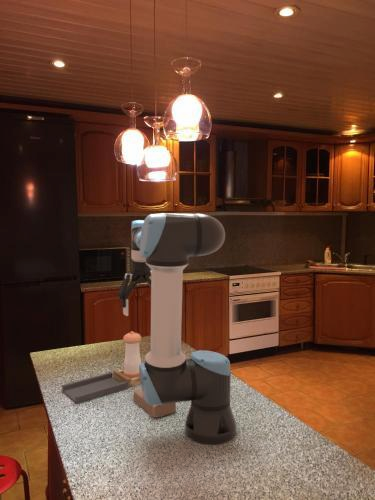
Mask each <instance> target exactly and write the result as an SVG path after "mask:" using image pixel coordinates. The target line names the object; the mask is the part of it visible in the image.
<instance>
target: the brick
mask: <svg viewBox="0 0 375 500" xmlns="http://www.w3.org/2000/svg"><path fill="white" fill-rule="evenodd" d="M132 398H133V401H134V402H135V403H136V404H138V405H139V407H141V409H143V410H144V411H145V412H146V413H148V414H149V415H150V416H151V417H152V418H161V417H163V416H168V415H170V414H174V413H176V409H177V403H169V404H163V405H149V404H147V403H146V401H145V398H144V394H143V390H142V386H140V387H137V388H134V389H133V394H132Z"/></svg>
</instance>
